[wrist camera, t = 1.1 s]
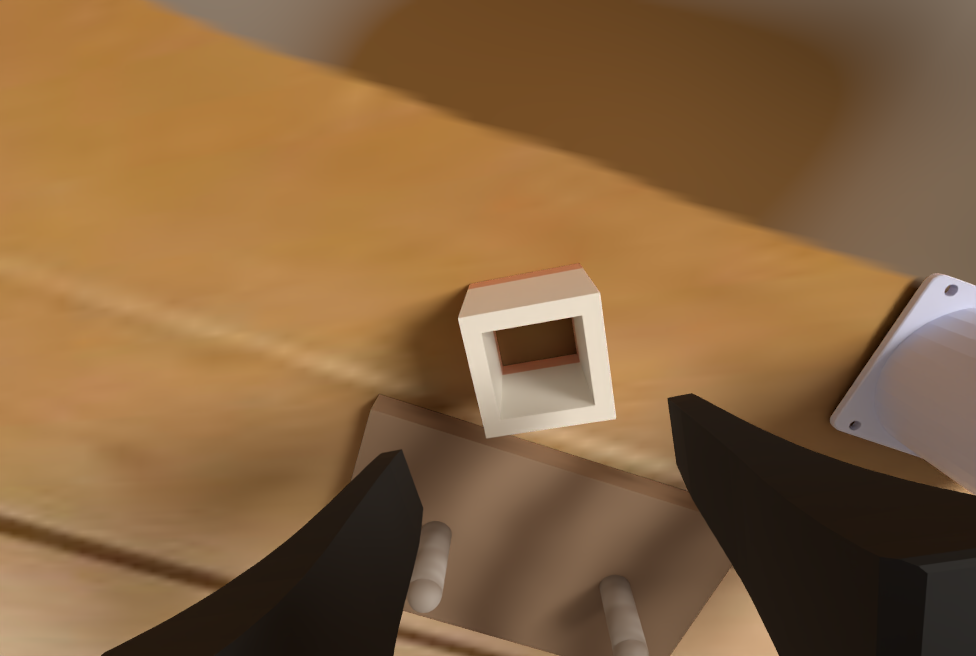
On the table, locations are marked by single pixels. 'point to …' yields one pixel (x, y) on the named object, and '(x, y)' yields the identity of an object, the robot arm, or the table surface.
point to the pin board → (546, 540)
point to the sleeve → (543, 383)
